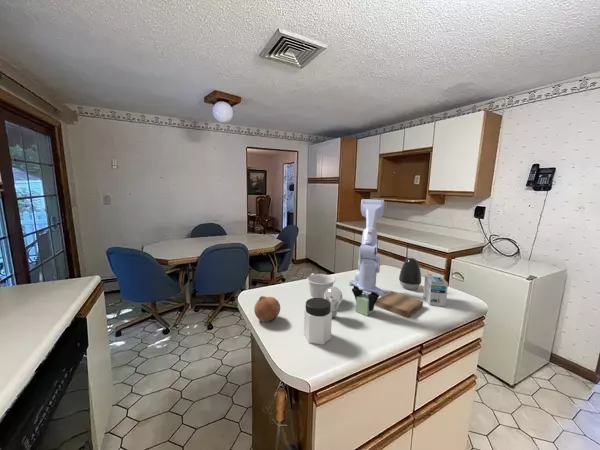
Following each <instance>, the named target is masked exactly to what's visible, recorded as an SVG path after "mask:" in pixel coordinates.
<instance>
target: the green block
mask: <svg viewBox="0 0 600 450" xmlns="http://www.w3.org/2000/svg"><path fill="white" fill-rule="evenodd" d="M368 295H369V294H367V293H362V295H360V296H358V297H357V299H355V302H356V303H355V312H358V313H359V314H361V315H364V316H366V317H367V316H369V315H371V314H372V313H374V309H375V308H374V309H373V310H372V311H369V297H368Z"/></svg>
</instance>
